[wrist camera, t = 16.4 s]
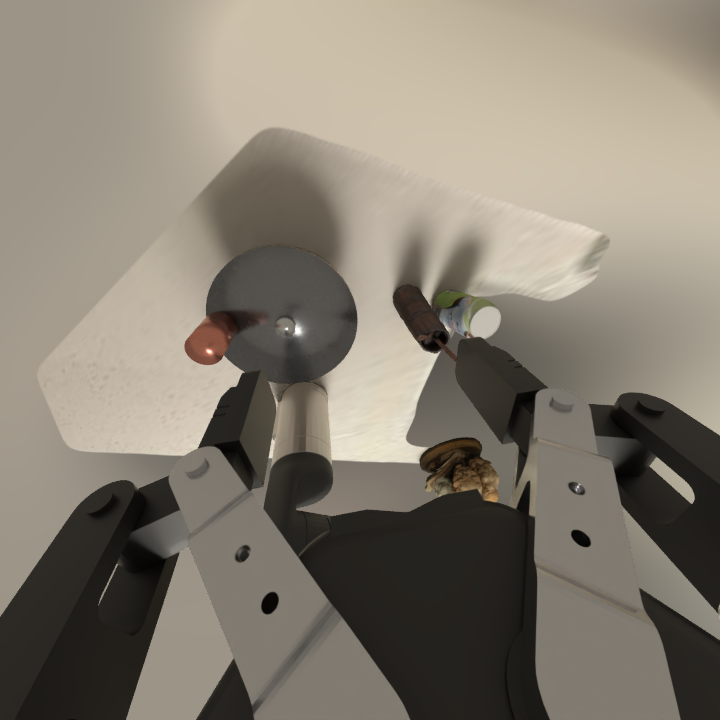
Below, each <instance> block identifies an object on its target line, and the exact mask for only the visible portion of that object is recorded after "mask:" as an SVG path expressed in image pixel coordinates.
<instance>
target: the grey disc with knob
mask: <svg viewBox="0 0 720 720" xmlns="http://www.w3.org/2000/svg"><path fill="white" fill-rule="evenodd" d="M356 331H357V311H356V306H355V302H354V299H353V296H352V294H351V292H350V289H349V287H348V285H347V284H346V282H345V281H344V279H343V277H342V276H341V275H340V274H339V273H338V272H337V270H336V269H335V268H334V267H332V266H331V265H330V264H329V263H328V262H326V261H325V260H324V259H322V258H321V257H319V256H317V255H315V254H313V253H311V252H309V251H306V250H304V249H301V248H297V247H293V246H286V245H268V246H262V247H257V248H254V249H251V250H248V251H246V252H244V253H242V254H240V255H239V256H237V257H236V258H234V259H233V260H232V261H230V262H229V263H228V264H227V265H226V266H225V267H224V268H223V269H222V270H221V271H220V272H219V273H218V275H217V276H216V278H215V279H214V281H213V283H212V285H211V287H210V290H209V293H208V296H207V303H206V318H205V319H204V320H203V322H202V323H201V324H200V325H199V326H198V327H197V328H196V330H195V331H194V332H193V333H192V334H191V335H190V336H189V338H188V339H187V340H186V342H185V351H186V353H187V355H188V356H189V357H190V358H191V359H192V360H193V361H195V362H197V363H200V364H203V365H212V364H216V363H218V362H219V361H220V360H221V359H222V357H223V355H224V356H225V357H226V358H227V359H228V360H229V361H230V362H232V363H233V364H234V365H235V366H237V367H238V368H239V369H241V370H242V371H244V372H251V371H258V370H263V371H264V372H265V374H266V377H267V380H268V381H270V382H275V383H301V382H305V381H310V380H313V379H316V378H318V377H320V376H323V375H324V374H326V373H328V372H329V371H331V370H332V369H334V368H335V367H336V366H337V365H338V364H339V363H340V362H341V361H342V360H343V359H344V358H345V356H346V355H347V354H348V352H349V350H350V349H351V347H352V344H353V342H354V339H355V335H356Z"/></svg>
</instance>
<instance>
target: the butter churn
mask: <svg viewBox="0 0 720 720" xmlns="http://www.w3.org/2000/svg"><path fill="white" fill-rule="evenodd" d="M393 299H394V301H393V304H394V306H395V308H396V310H397V311H398V313H399V315H400V317H401V319H402V320H403V321H404V323H405V324H406V326H407V327H408V329H409V331H410V332H411V334H412V335H413V337H414V338H415V340H416V341H417V342H418V343H419V345H420V346H421V347H422V348H423V350H425V351H428V352H431V353H434V354H435V353H438V352H440V351H441V350H442V349H443V350H445V352H446V353H447V354H448V355H449V356H450V357H451V358H452V359H454V361H455V362H456V361H457V357H456V356H455V355H454V354H453V353H452V352H451V351H450V350H449V349H448V348H447V347H446V345H447V344H448V342H449V341H450V335H449V332H448V331H447V330H446V328H445V326H444V325H443V323H442V322H441V321H440V320H439V318H438V316H437V314H436V313H435V312H434V311H433V309H432V308H431V306H430V305H429V304H428V302H427V300H426V299H425V297H424V296H423V294H422V293H421V291H420V290H419V289H418V288H417V287H414V286H411V285H405V286H402V287H400V288H399V289H398V290H397V291H396V292H395V294H394V296H393Z"/></svg>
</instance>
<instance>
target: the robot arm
mask: <svg viewBox="0 0 720 720" xmlns="http://www.w3.org/2000/svg"><path fill="white" fill-rule="evenodd" d="M455 373H456V379H457V382H458V384H459V385H460V387H461V388H462V390H463V391H464V392H465V394H466V395H467V396H468V398H469V399H470V401H471V402H472V403H473V405H474V406H475V408H476V409H477V410H478V412H479V413H480V414H481V416H482V417H483V419H484V420H485V421H486V423H487V424H488V425H489V427H490V428H491V430H492V431H493V432H494V434H495V435H496V436H497V438H498V439H499V441H500V442H501V443H502V444H507V443H512V442H516V444H517V445H518V446H519V447H518V450H517V453H516V462H515V471H514V480H513V489H512V490H513V491H512V497H511V502H510V506H507V505H504V504H501V503H497V502H492V501H486V500H483V498H482V496H481V494H480V492H479V491H478V489H472V490H467V491H462V492H457V493H451V494H446V495H442V496H440V497H438V498H436V499H434V500H432V501H430V502H428V503H426V504H424V505H422V506H421V507H418V508H417V509H414V510H412V511H410V512H393V511H392V512H391V511H380V510H379V511H378V510H363V511H357V512H352V513H347V514H342V515H336V516H328V515H321V514H316V513H309V512H304V511H298V510H296V508H300V507H304V506H308V505H311V504H314V503H316V502H318V501H320V500H321V499H323V498H324V497H325V496H326V495H327V494H328V493H329V491H330V490H331V487H332V484H333V471H332V458H331V444H330V429H329V413H328V398H327V394H326V392H325V391H324V389H323V388H322V387H320V386H319V385H317V384H315V383H311V382H301V383H295V384H293V385H291V386H290V387H288V388H287V389H286V390H285V391H284V393H283V395H282V399H281V401H280V402H278V406H277V412H276V403H275V399H274V396H273V394H272V391H271V388H270V385H269V382H268V380H267V377H266V374H265V372H264V371H263V370H258V371H251V372H245V373H242V375H241V377H240V380H239V382H238V385H237V387H231V388H230V389H229V390H228V391H227V392H226V393H225V394H224V395H223V396H222V397H221V399H220V401H219V403H218V405H217V409H216V410H215V412H214V414H213V418H212V419H211V421H210V423H209V425H208V427H207V430H206V432H205V434H204V436H203V438H202V441H201V443H200V445H199V447H198V449H196V450H194V451H192V452H190V453H188V454H187V455H185V456H184V457H183V458H181V459H180V460H179V461H178V462H177V463H176V464H175V466H174V467H173V469H172V470H171V472H170V475H169V476H167V477H165V478H163V479H160V480H158V481H155V482H153V483H151V484H148V485H146V486H144V487H141V488H139V489H138V488H137V487H136V486H135V485H134V484H133V483H132V482H130V481H127V480H121V481H116V482H112V483H110V484H107V485H105V486H103V487H102V488H100V489H98V490H97V491H95V492H94V493H92V494H90V495H89V496H88V497H87V498H86V499H85V500H83V501H82V502H81V503H80V504H79V505H78V506H77V508H76V509H75V510H74V512H73V513H72V514H71V516H70V517H69V519H68V520H67V521H66V523H65V524H64V526H63V527H62V529H61V530H60V531H59V533H58V534H57V536H56V537H55V539H54V540H53V542H52V543H51V544H50V546H49V547H48V549H47V550H46V552H45V553H44V555H43V556H42V558H41V559H40V560H39V562H38V563H37V565H36V566H35V568H34V569H33V570H32V572H31V573H30V575H29V576H28V578H27V579H26V581H25V582H24V584H23V585H22V586H21V588H20V589H19V591H18V592H17V594H16V595H15V596H14V598H13V599H12V601H11V602H10V604H9V605H8V607H7V608H6V609H5V611H4V613H3V614H2V615H1V617H0V720H126V717H127V714H128V711H129V708H130V705H131V702H132V699H133V696H134V693H135V690H136V686H137V683H138V680H139V677H140V674H141V671H142V668H143V664H144V662H145V658H146V655H147V652H148V649H149V646H150V643H151V640H152V637H153V634H154V630H155V627H156V624H157V621H158V618H159V615H160V612H161V609H162V606H163V603H164V599H165V596H166V593H167V590H168V587H169V584H170V581H171V578H172V575H173V572H174V568H175V565H176V562H177V559H178V556H179V552H180V551H182V550H184V549H186V548H187V547H189V548H190V550H191V553H192V555H193V557H194V560H195V562H196V565H197V567H198V570H199V572H200V575H201V577H202V580H203V582H204V585H205V587H206V590H207V592H208V595H209V597H210V600H211V602H212V605H213V607H214V609H215V612H216V615H217V617H218V619H219V622H220V625H221V627H222V630H223V632H224V634H225V637H226V639H227V642H228V644H229V647H230V649H231V652H232V654H233V657H234V659H233V660H232V662H231V664H230V665H229V667H228V669H227V670H226V672H225V674H224V675H223V677H222V678H221V680H220V681H219V683H218V685H217V686H216V688H215V690H214V691H213V693H212V695H211V696H210V698H209V700H208V701H207V703H206V704H205V706H204V708H203V709H202V711H201V713H200V714H199V716H198V717H197V719H196V720H720V640H718V639H717V638H715V637H714V636H712V635H711V634H709V633H708V632H706V631H705V630H703V629H702V628H700V627H699V626H697V625H695V624H694V623H692V622H691V621H689V620H688V619H686V618H685V617H683V616H682V615H680V614H679V613H677V612H676V611H674V610H673V609H671V608H669V607H668V606H666V605H665V604H663V603H662V602H660V601H659V600H657V599H656V598H654V597H653V596H651V595H650V594H648V593H646V592H645V591H643V590H642V589H640V588H639V587H638V582H637V577H636V572H635V567H634V563H633V558H632V553H631V548H630V544H629V539H628V534H627V530H626V525H625V520H624V515H623V511H622V506H623V507H624V508H625V510H626V511H627V512H628V513H629V514H630V515H631V516H632V517H633V518H634V520H635V521H636V522H637V523H638V524H639V525H640V526H641V527H642V529H643V530H644V531H645V532H646V533H647V534H648V535H649V536H650V538H651V539H652V540H653V541H654V542H655V543H656V544H657V545H658V547H659V548H660V549H661V550H662V551H663V552H664V553H665V554H666V555H667V556H668V558H669V559H670V560H671V561H672V562H673V563H674V564H675V566H676V567H677V568H678V569H679V570H680V571H681V572H682V573H683V575H684V576H685V577H686V578H687V579H688V580H689V581H690V582H691V583H692V585H693V586H694V587H695V588H696V589H697V590H698V591H699V592H700V594H701V595H702V596H703V597H704V598H705V599H706V600H707V601H708V602H709V604H710V605H711V606H712V607H713V608H714V609H715V610H716V612H717V613H718V614H719V618H720V436H719V435H718V434H717V433H715V432H713V431H712V430H710V429H709V428H707V427H706V426H704V425H703V424H701V423H700V422H698V421H697V420H695V419H693V418H692V417H690V416H689V415H687V414H686V413H684V412H683V411H681V410H680V409H678V408H677V407H675V406H674V405H672V404H670V403H669V402H667V401H665V400H662V399H660V398H657V397H654V396H651V395H647V394H643V393H625V394H622V395H620V396H619V398H618V399H617V401H616V403H615V405H614V406H612V405H596V404H587V402H586V401H585V400H584V399H582V398H581V397H580V396H578V395H576V394H574V393H572V392H568V391H566V390H562V389H557V388H548V387H547V386H545V385H544V384H543V383H542V382H541V381H540V380H538V379H537V378H536V377H535V376H534V375H533V374H532V373H530V372H529V371H528V370H527V369H526V368H525V367H522V365H521V364H520V363H518V361H515V359H514V358H513V357H512V356H511V355H510V354H508V353H507V352H506V351H503V350H501V349H499V348H497V347H495V346H493V347H492V346H490V345H489V344H488V343H487V342H486V341H485V340H484V339H483V338H482V337H473V338H467V339H461V340H460V342H459V345H458V354H457V361H456V371H455ZM272 434H273V435H272ZM272 438H273V440H275V445H274V452H273V458H272V465H271V471H270V478H269V483H268V488H267V492H266V498H265V502H264V508H262V506H261V505H260V503H259V502H258V500H257V499H256V498H255V496H254V495H253V493H252V492H251V490H252V489H254V488H260V487H263V485H264V479H265V474H266V468H267V462H268V457H269V451H270V446H271V440H272ZM656 457H658V458H659V459H660V460H662V461H663V462H664V463H665V464H666V465H667V466H668V467H670V468H671V469H672V470H673V471H674V472H676V473H677V474H678V475H679V476H680V477H682V478H683V479H684V480H685V481H686V482H687V483H688V484H689V485H690V487H691V488H692V490H693V492H694V495H695V500H694V502H693V504H691V503H690V502H688V501H687V500H686V499H685V498H684V497H683V496H682V495H681V494H680V493H678V492H677V491H676V490H675V489H674V488H673V487H672V486H671V485H669V484H668V483H667V482H666V481H665V480H664V479H663V478H662V477H660V476H659V475H658V474H657V473H656V472H655V471H654V470H653V469H652V468H650V467H649V466H650V465H651V463H652V462H653V461H654V459H655V458H656ZM621 505H622V506H621ZM116 564H118V566H117V568H116V570H115V572H114V575H113V577H112V579H111V581H110V583H109V585H108V587H107V589H106V592H105V593H104V596H103V598H102V600H101V602H100V604H99V601H100V598H101V595H102V593H103V591H104V589H105V587H106V585H107V583H108V581H109V578H110V576H111V574H112V572H113V570H114V568H115V566H116ZM98 604H99V606H98Z"/></svg>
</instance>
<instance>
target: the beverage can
mask: <svg viewBox="0 0 720 720" xmlns="http://www.w3.org/2000/svg"><path fill="white" fill-rule="evenodd" d="M432 309H433V311H434V312H435V313H436V314H437V316H438V318H439V320H440V321H441V322H442V323H443V325H445V326H447V327H449V328H450V329H452V330H454V331H456V332H458V333H460V334H461V335H463V336H465V337H467V338H473V337H482V338H483V339H486V338H488V337H490V336H491V335H493V334H494V333H495V332H496V331H497V329H498V327H499V325H500V321H501V316H500V312H499V311H498V310H497V308H496V306H495V305H494V304H493V303H492V302H490V301H487V300H484V299H480V298H478V297H474V296H471V295H468V294H464V293H461V292H458V291H454V290H446V291H443V292H442V293H440V294H439V295H438V296H437V297H436V298H435V300H434V302H433V305H432Z"/></svg>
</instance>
